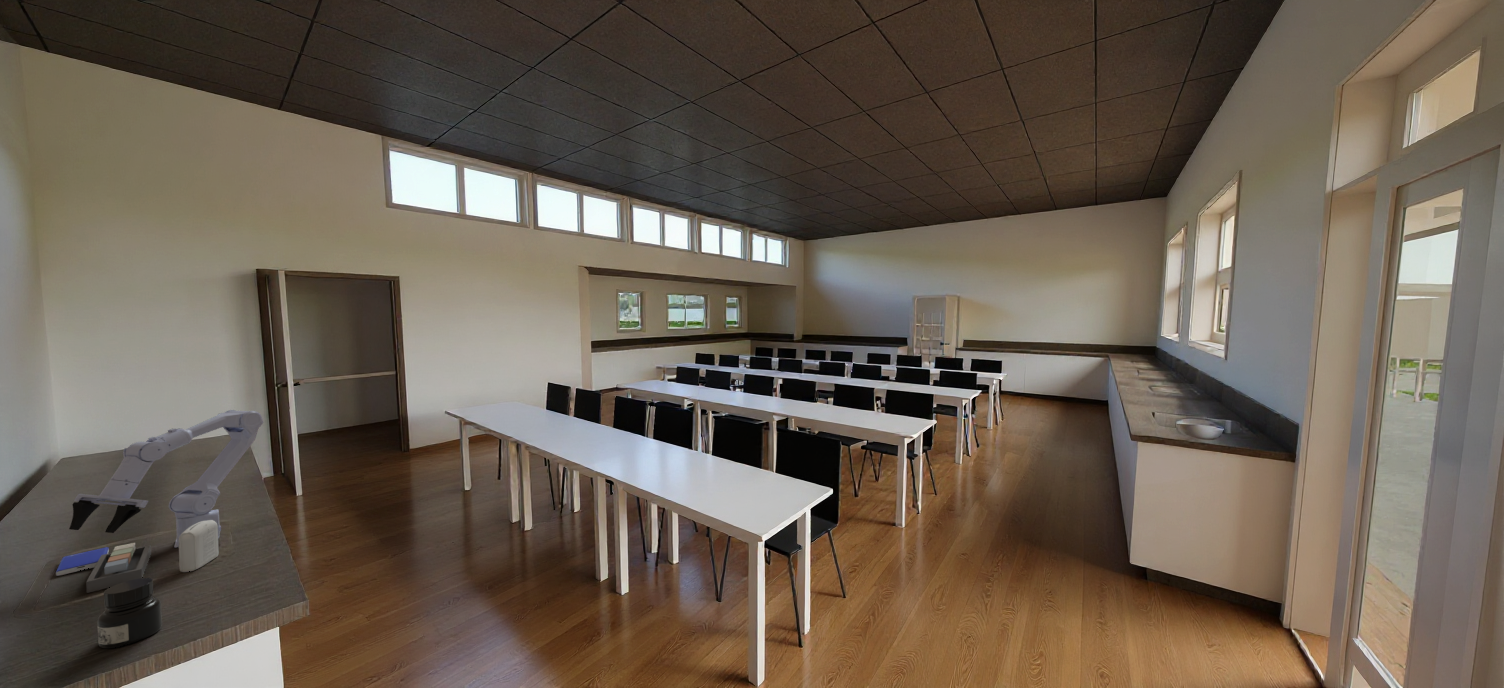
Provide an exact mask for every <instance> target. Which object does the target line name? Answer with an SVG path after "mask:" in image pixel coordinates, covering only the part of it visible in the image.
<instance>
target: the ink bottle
mask: <svg viewBox="0 0 1504 688" xmlns="http://www.w3.org/2000/svg"><path fill="white" fill-rule="evenodd" d="M153 582H154V581H153V577H143V578H140V579H134V580H130V581H126V582H123V583H120V584H117V585H114V586H112V587H110V588H106V589H105V590H104V591H103V598H104V600H103V602H104V608H105V610H104V611H102V612H101V613H100V615H99V616H98V617H97V622H96V625H97V641H98V642H97V643H98V646H99V647H100V648H103V649H116V648H120V646H121V647H124V646H123V645H125V646H128V645H131V644H134V643H136V642H137V643H138V642H139V641H142V640H143V639H146V638H149V637H151V636H153V635H154V634H156V633H157V632H159V631H160V630H161V628H162V627H163V626H162V625H163V619H162V618H163V617H162V615H163V613H162V602H161V599H160V598H157V597H154V596H153V595H154V583H153ZM127 644H128V645H127ZM115 647H116V648H115Z"/></svg>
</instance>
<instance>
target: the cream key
mask: <svg viewBox="0 0 1504 688" xmlns="http://www.w3.org/2000/svg"><path fill="white" fill-rule="evenodd" d="M128 548H133V553H134V551H135V548H136V542H131V543H128V544H122V545H116V546H114V549H112V552H114V551H119V550H124V549H128Z"/></svg>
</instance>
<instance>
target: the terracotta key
mask: <svg viewBox="0 0 1504 688" xmlns="http://www.w3.org/2000/svg"><path fill="white" fill-rule="evenodd" d="M127 558H128V564H129V563H130V561H131V553H127V554H123V555H118V556H113V557H110V558H109V560H108V562H107V563H109V562H113V561H118V560H122V559H127Z"/></svg>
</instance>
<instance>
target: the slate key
mask: <svg viewBox="0 0 1504 688" xmlns="http://www.w3.org/2000/svg"><path fill="white" fill-rule="evenodd" d="M127 568H128V558H127V559H122V560H118V561H113V562H109V563H106V565H105V567H104V571H105V575H106V574H110V573H112V574H116V573H120V572H122V571H123V570H127Z"/></svg>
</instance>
